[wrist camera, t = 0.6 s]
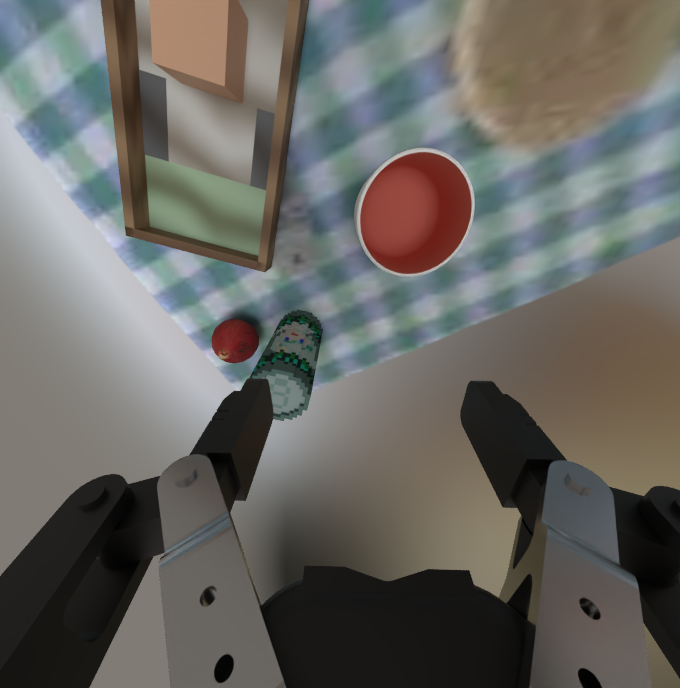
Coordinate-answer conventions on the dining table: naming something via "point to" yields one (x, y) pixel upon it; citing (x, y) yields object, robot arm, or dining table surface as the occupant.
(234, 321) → the red oval fruit
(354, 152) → the dining table surface
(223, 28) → the block
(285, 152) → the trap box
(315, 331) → the can
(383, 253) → the cup
